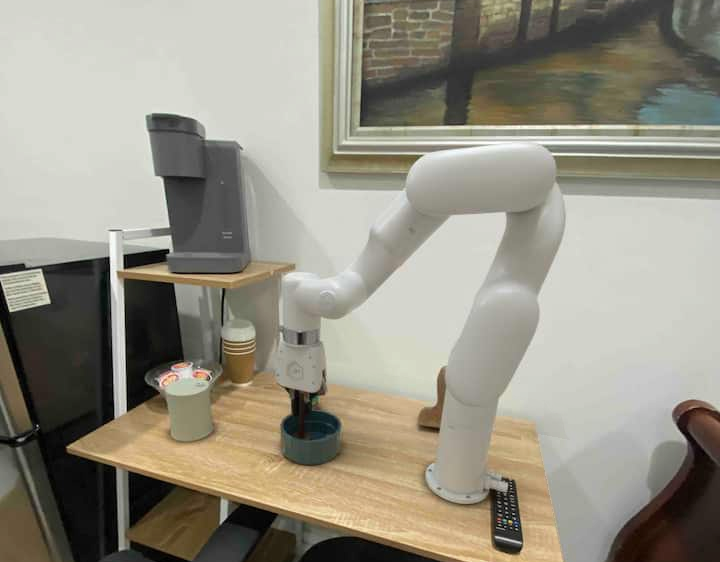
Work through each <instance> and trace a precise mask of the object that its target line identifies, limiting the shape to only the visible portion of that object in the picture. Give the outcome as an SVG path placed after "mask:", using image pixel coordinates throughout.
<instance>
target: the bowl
mask: <svg viewBox="0 0 720 562" xmlns="http://www.w3.org/2000/svg"><path fill="white" fill-rule="evenodd" d="M342 427H343V425H342V421H341V419H340V418H339V417H338V416H337V415H335V414H333V413H332V412H329V411H326V410H321V409H317V410H312V412H311V414H309V415H308V416H307V417H306V418H305V431H307V432H309V433H311V435H312V440H301V439H298V438H294V437H292V435H293V434H294V433H295V432H298V431H299V414H298V415H297V416H293V413H292V412H291V413H289V414H288V415H286V416H285V417H284V418H283V419H282V420H281V422H280V424H279V431H280V452H281V453H282V454H283V456H284V457H285V458H286V459H287V460H288V461H291V462H293V463H295V464H298V465H302V466H303V465H304V466H316V465H321V464H322V465H323V464H324V463H328V462H330V461H332V460H333V459H334V458H336V456H337V455H338V453H339V452H340V451H341V448H342V447H341V446H342V429H343V428H342Z"/></svg>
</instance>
